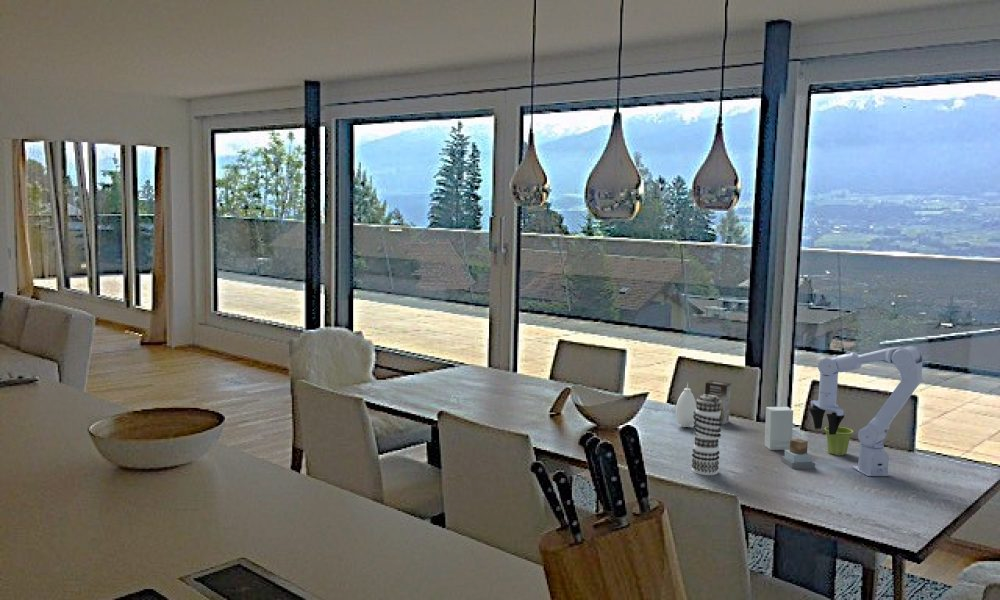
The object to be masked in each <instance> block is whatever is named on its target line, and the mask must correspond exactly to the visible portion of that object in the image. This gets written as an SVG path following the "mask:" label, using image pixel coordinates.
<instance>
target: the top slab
mask: <svg viewBox="0 0 1000 600" xmlns="http://www.w3.org/2000/svg"><path fill="white" fill-rule="evenodd" d="M783 456H784V457H785V458H787V459H789V460H790V461H792V462H794V463H797V462H812V461H813V454H812V453H810V452H808V451H807V453H804V454H796V453H792V452H790V450H784V455H783Z"/></svg>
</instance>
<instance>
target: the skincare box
mask: <svg viewBox="0 0 1000 600" xmlns="http://www.w3.org/2000/svg"><path fill="white" fill-rule="evenodd" d="M793 422H794V410H793V409H791V408H790V407H789V406H766V407H765V428H764V446H765V447H766V448H767V449H768V448H769V449H770V450H769V449H768V450H769V451H785V450H790V440H793V426H794V423H793Z"/></svg>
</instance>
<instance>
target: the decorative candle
mask: <svg viewBox="0 0 1000 600" xmlns="http://www.w3.org/2000/svg"><path fill="white" fill-rule="evenodd" d="M695 401H696V411H695V412H696V413H695V412H694V414H695V415H693V418H694V419H695V421H694V422H693V426H692V428H693V430H694V431H693V432H692V433H693V436H694V443H693V448H692V452H693V453H692V458H691V462H692V463H691V472H693V473H695V474H697V475H702V476H714V475H715V476H716V475H717V474H718V473H719V471H718V470H719V464H720V461H719V459H720V456H719V455H720V449H719V439H720V438H721V436H722V434H721V432H722V429H721V428H720V427H721V426H722V425H723V424H722V423H720V421H722V418H721V417H719V416H720V415H721V410H720V404H721V402H722V401H721V400H719V398H718V396H716V395H711V394H705V393H704V394H700V395H699V396H698V397H697V398H695Z"/></svg>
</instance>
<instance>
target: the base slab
mask: <svg viewBox="0 0 1000 600" xmlns="http://www.w3.org/2000/svg"><path fill="white" fill-rule="evenodd" d="M780 462H781V463H783V464H784V465H785V466H788V467H789V468H790V469H816V467H815V466H816V462H814V461H813V460H812V462H797V463H794V462H792V461H790V460H789V459H787V458H785V457H784V455H782V456H781V461H780Z"/></svg>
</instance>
